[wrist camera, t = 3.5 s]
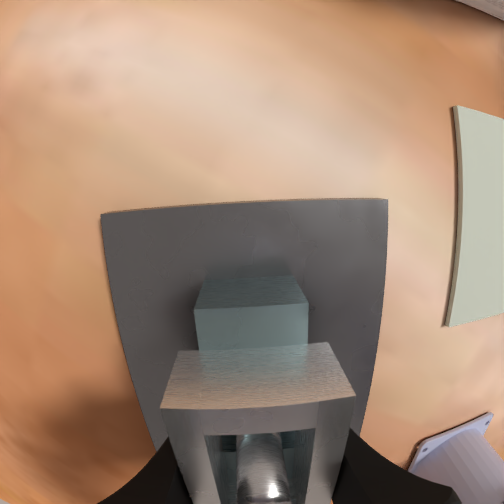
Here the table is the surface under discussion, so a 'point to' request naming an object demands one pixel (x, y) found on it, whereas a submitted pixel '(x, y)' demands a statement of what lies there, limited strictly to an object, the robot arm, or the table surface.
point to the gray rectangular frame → (258, 414)
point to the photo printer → (487, 6)
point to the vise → (248, 301)
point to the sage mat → (478, 218)
